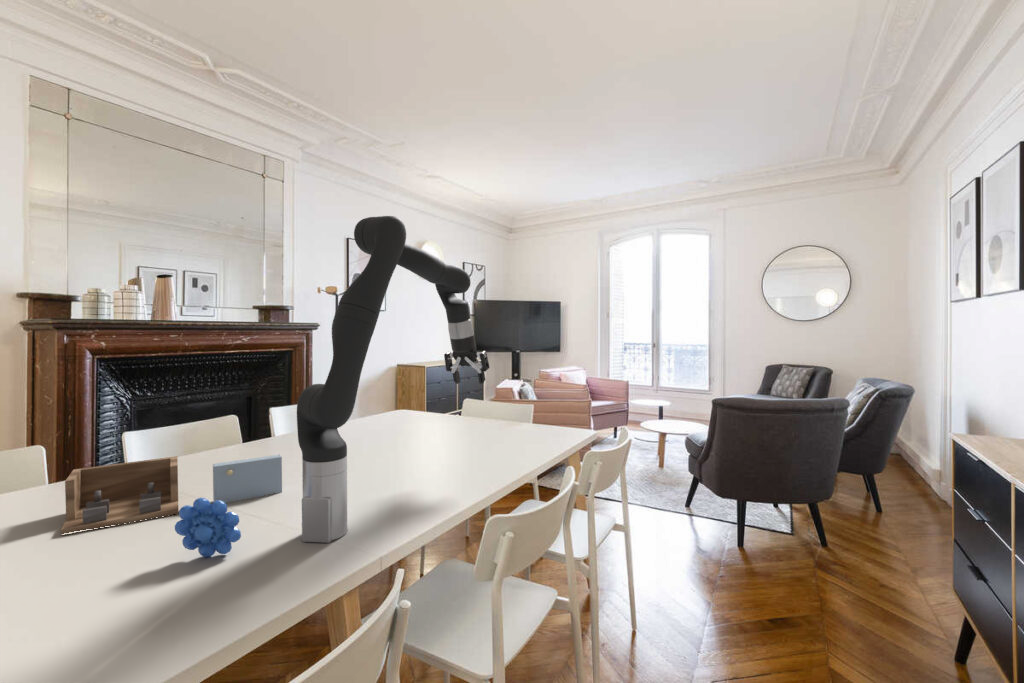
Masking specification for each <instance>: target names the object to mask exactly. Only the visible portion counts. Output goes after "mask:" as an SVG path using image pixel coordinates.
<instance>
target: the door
mask: <svg viewBox="0 0 1024 683" xmlns="http://www.w3.org/2000/svg"><path fill="white" fill-rule="evenodd" d="M282 458H283V457H282V455H281V454H275V455H267V456H260V457H259V456H258V457H252V458H246V459H245V458H244V459H238V460H231V461H225V462H219V463H212V491H213V496H212V497H213V501H217V500H220V501H223V502H227V503H231V502H230V501H232V502H236V500H237V501H241V499H243V500H248V499H253V497H254V498H259V497H264V495H265V496H269V494H270V495H274V494H273V493H276V494H281V493H283V467H282V466H283V465H282V464H283V462H282V461H283V459H282ZM280 492H281V493H280ZM247 498H248V499H247Z"/></svg>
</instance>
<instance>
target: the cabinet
mask: <svg viewBox="0 0 1024 683" xmlns="http://www.w3.org/2000/svg"><path fill="white" fill-rule="evenodd" d="M178 463H179V462H178V456H169V457H162V458H154V459H145V460H137V461H130V462H129V461H127V462H121V463H113V464H107V465H106V464H104V465H96V466H91V467H90V466H88V467H81V468H75V469H74V468H73V470H72V471H71V473H69V475H68V477H66V479H65V481H64V486H65V489H64V491H65V492H64V494H65V497H64V498H65V522H64V523H63V525H62V527H61V529H60V535H61V534H64V533H69V532H74V531H80V530H86V529H94V528H100V527H105V526H111V525H118V524H124V523H129V522H134V521H140V520H145V519H151V518H156V517H162V516H167V517H169V516H168V515H173V514H178V515H179V472H178V469H179V468H178V466H179V465H178ZM173 516H174V515H173ZM162 518H163V517H162ZM151 520H152V519H151ZM140 522H141V521H140ZM124 525H125V524H124Z"/></svg>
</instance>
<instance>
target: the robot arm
mask: <svg viewBox="0 0 1024 683" xmlns="http://www.w3.org/2000/svg"><path fill="white" fill-rule="evenodd" d="M353 237H354V238H353V239H354V240H355V244H356V245H357V246H356V247H358V248H359V250H361V252H363V253H364V254H367V255H370V257H369V259H368V262H367V264H366V265H365V267H364V269H363V270H362V272H361V273H359V274H358V276H357V277H356V278H355V279H354V281H352V283H351V284H350V285H349V286H348V287H347V288H346V290H345V291H344V292H343V294H342V295H341V297H340V299H339V302H338V305H337V308H336V311H335V312H334V313H335V314H334V316H333V319H332V324H331V341H332V342H331V343H332V359H331V360H332V361H331V366H330V368H329V371H328V374H327V378H326V380H325V383H314V384H311V385H308V386H307V387H306V388H304V389H303V390H302V391H301V393H300V394H299V397H298V399H297V403H296V404H297V405H296V427H297V441H298V446H299V448H300V450H301V454H302V456H301V458H302V461H301V462H302V463H301V464H302V498H301V541H302V542H303V543H305V542H306V543H325V544H326V543H327V544H328V543H329V544H330V543H331V542H332V541H334V540H337V539H339V538H341V537H343V536H345V535H346V534H347V533H348V446H347V442H346V441H345V440H344V438H342V436H341V435H340V432H339V431H338V428H341V427H343V426H344V425H345V424H346V423H347V422H348V421H349V420H350V418H351V416H352V414H353V412H354V408H355V405H356V400H357V394H358V390H359V385H360V380H361V376H362V371H363V367H364V364H365V360H366V357H367V354H368V350H369V347H370V343H371V340H372V337H373V335H374V331H375V329H376V326H377V323H378V319H379V316H380V312H381V308H382V306H383V302H384V300H385V296H386V293H387V291H388V288H389V285H390V282H391V279H392V276H393V274H394V272H395V269H396V268H397V266H399V267H402V268H404V269H406V270H407V271H410V272H411V273H414V274H415V275H417V276H418V277H420V278H422V279H424V280H426V281H427V282H429V283H431V284H434V285H435V289H436V291H437V294H438V295H439V296H438V297H439V298H440V300H441V302H442V303H441V304H443V307H444V309H445V314H446V318H447V323H448V325H447V326H448V328H447V329H448V334H449V336H448V337H449V340H450V346H451V350H452V351H449V350H448V351H447V352H446V353H444V354H443V355H444V356H443V357H444V365H445V371H447V372H450V373H451V374H452V379H453V381H454V382H453V383H455V385H456V384H457V385H458V384H460V383H461V377H460V376H461V375H460V371H459V369H460V367H472V368H473V369H475V371H476V372H477V376H478V383H479V385H483V384H484V383H485V382H486V376H485V375H486V374H485V372H487V370H490V362H489V359H488V355H487V354H488V353H487V351H486V350H483V351H477V345H476V338H475V333H474V332H475V330H474V325H473V323H472V318H471V313H470V308H469V303H468V302H467V301H466V300H464V299H460V298H458V296H457V295H456V294H463V293H465V292H467V291H468V290H469V289H470V287H471V277H470V276H469V274H468V272H467V271H466V270H465V269H463V268H461V267H459V266H456V265H455V264H454V265H453V264H451V263H447V262H444V261H443V260H442V259H440V258H439V257H437V256H436V255H434V254H433V253H431V252H429V251H426V250H424V249H422V248H419V247H417V246H412V245H411V244H408V243H406V240H407V230H406V226H405V223H404V221H402V219H401V218H399V217H397V216H394V215H393V216H392V215H382V216H381V215H380V216H369V217H365V218H362V219H361V220H359V221H358V222H357V223H356V224H355V227H354V230H353ZM453 359H454V360H455V362H454V364H453Z"/></svg>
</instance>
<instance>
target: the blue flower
mask: <svg viewBox="0 0 1024 683" xmlns="http://www.w3.org/2000/svg"><path fill="white" fill-rule="evenodd" d="M178 515H179V518H180V520H179V521H177V522H176V523H175V525H174V531H175V532H176V534H178V535H179V536H184V537H183V538H182V546H183V547H184V549H186V550H189V551H193V550H196V549H197V550H198V553H199V555H200V556H201V557H204V558H210V557H211V556H214V555H215V553H216V552H217V553H219V554H220V555H226V554H228V553H229V552H231V550H232V546H233V544H232V543H236V542H237V541H238V542H239V540H240V539H241V537H242V532H241V530H240V529H239V528H238V527H236V526H238V525H239V523H240V517H239V515H238V514H237V513H235V512H233V511H228V505H227V503H225V502H223V501H220V500H217V501H214V502H210V500H209V499H207V498H205V497H198V498H195V500H194V502H193V503H192V505H189V504H186V505H184V506H182V507H181V508H180V509H178Z"/></svg>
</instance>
